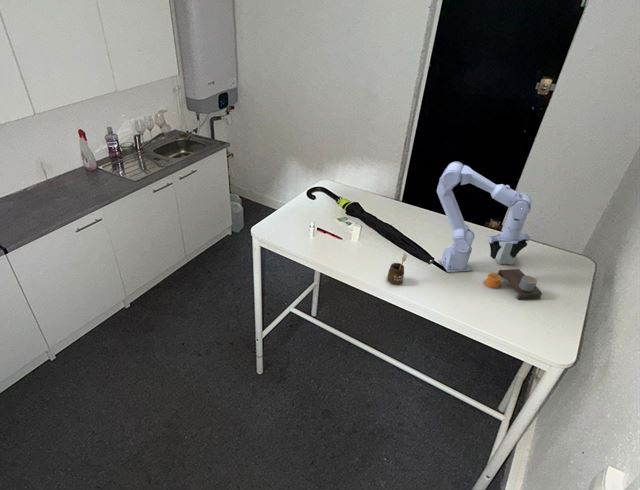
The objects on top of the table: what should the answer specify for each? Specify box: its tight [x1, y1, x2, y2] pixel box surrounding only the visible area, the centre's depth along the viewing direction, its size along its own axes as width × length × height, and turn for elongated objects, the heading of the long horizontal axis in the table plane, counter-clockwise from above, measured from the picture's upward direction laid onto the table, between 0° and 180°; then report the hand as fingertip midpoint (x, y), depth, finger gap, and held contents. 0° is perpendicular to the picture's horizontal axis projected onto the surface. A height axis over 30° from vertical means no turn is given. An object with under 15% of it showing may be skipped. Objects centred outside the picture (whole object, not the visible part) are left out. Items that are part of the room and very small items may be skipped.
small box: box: [495, 232, 517, 265], centre depth 167 cm, size 8×6×10 cm
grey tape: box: [519, 275, 538, 292], centre depth 150 cm, size 5×5×4 cm
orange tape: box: [484, 272, 503, 289], centre depth 156 cm, size 5×5×4 cm
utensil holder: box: [387, 252, 408, 285], centre depth 159 cm, size 6×6×12 cm
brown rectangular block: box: [497, 268, 543, 300], centre depth 155 cm, size 8×15×3 cm, turn 2°
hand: (502, 256), depth 156 cm, fingers open, 7 cm apart
